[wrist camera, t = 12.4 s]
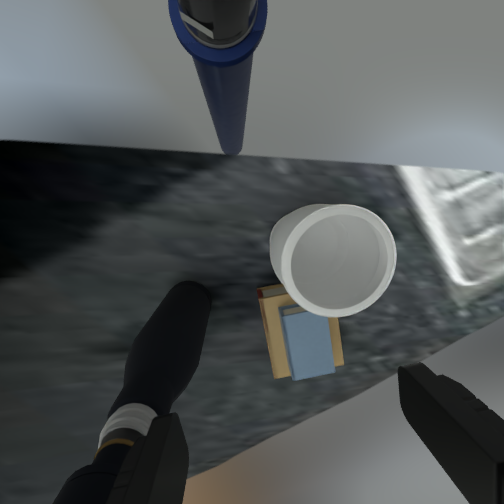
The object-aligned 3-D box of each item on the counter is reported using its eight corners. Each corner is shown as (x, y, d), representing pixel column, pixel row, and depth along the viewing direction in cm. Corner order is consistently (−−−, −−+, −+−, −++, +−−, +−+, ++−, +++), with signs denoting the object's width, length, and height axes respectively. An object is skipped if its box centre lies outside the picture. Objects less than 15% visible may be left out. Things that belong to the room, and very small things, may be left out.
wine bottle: (173, 275, 39) (-14, 502, 9) (216, 287, 39) (171, 534, 10) (161, 315, 40) (-43, 639, 10) (204, 327, 40) (128, 659, 11)
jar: (325, 194, 38) (384, 188, 23) (342, 263, 40) (407, 298, 25) (252, 217, 38) (265, 225, 23) (273, 285, 40) (297, 333, 25)
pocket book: (277, 307, 36) (281, 317, 33) (319, 298, 36) (326, 307, 33) (288, 366, 38) (292, 381, 35) (327, 358, 38) (335, 372, 35)
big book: (256, 288, 40) (258, 299, 35) (323, 275, 40) (333, 284, 36) (270, 360, 42) (274, 379, 38) (333, 347, 42) (344, 364, 38)
